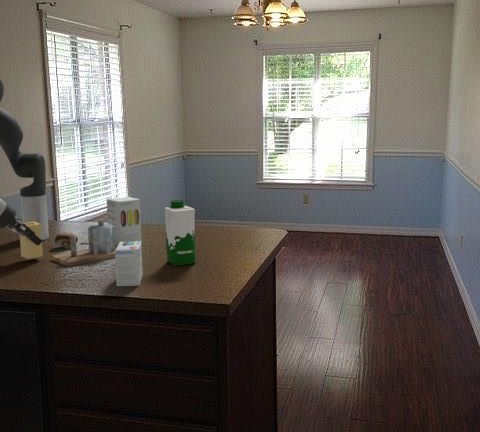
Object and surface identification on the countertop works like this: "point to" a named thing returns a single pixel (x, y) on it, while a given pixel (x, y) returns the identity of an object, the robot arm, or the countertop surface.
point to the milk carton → (180, 233)
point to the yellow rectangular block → (28, 246)
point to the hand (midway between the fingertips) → (36, 241)
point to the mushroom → (64, 239)
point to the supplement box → (125, 218)
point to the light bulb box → (128, 263)
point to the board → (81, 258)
